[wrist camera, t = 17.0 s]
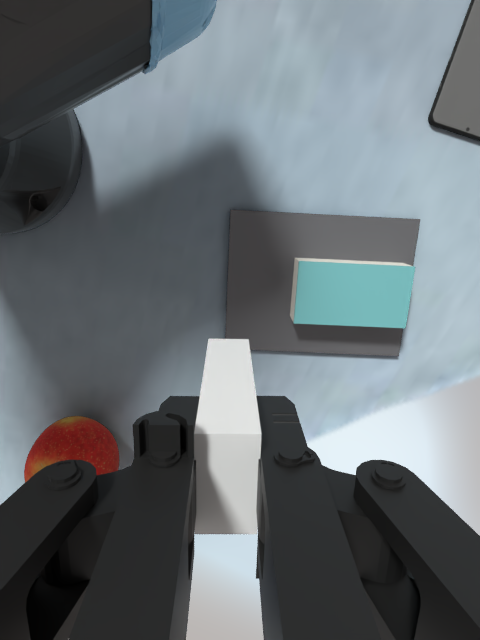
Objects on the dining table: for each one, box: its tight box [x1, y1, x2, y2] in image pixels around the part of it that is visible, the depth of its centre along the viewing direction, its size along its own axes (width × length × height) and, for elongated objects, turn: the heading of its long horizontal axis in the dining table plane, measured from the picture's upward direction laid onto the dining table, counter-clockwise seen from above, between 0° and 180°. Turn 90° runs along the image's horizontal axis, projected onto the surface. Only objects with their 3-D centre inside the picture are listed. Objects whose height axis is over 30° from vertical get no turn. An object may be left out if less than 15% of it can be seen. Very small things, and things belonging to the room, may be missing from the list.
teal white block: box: [290, 258, 415, 328], centre depth 38 cm, size 3×6×10 cm
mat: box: [225, 210, 420, 356], centre depth 39 cm, size 17×13×1 cm
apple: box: [24, 416, 119, 482], centre depth 38 cm, size 8×8×10 cm
